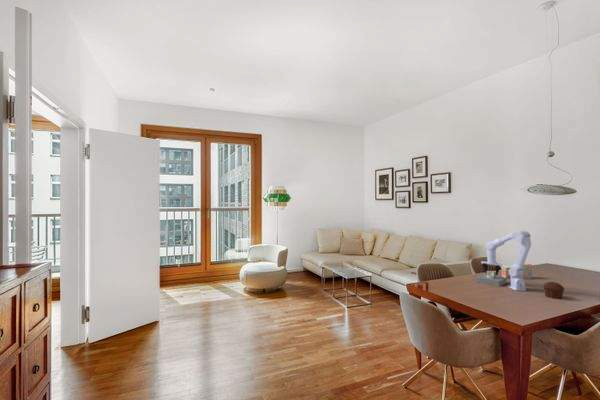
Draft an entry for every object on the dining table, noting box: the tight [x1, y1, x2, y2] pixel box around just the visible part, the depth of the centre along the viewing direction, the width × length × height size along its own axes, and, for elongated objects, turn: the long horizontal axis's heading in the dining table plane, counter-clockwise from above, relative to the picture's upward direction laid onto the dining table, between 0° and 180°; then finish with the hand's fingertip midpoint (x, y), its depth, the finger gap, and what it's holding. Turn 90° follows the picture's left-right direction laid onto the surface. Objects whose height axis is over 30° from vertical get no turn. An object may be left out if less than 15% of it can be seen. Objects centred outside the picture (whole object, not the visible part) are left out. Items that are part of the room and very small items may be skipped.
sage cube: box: [486, 269, 497, 279], centre depth 245 cm, size 5×5×5 cm
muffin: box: [543, 281, 565, 300], centre depth 209 cm, size 12×11×10 cm
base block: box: [476, 273, 508, 287], centre depth 246 cm, size 16×16×4 cm
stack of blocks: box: [501, 262, 533, 279], centre depth 261 cm, size 21×6×12 cm, turn 87°
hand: (491, 273), depth 246 cm, fingers open, 7 cm apart
